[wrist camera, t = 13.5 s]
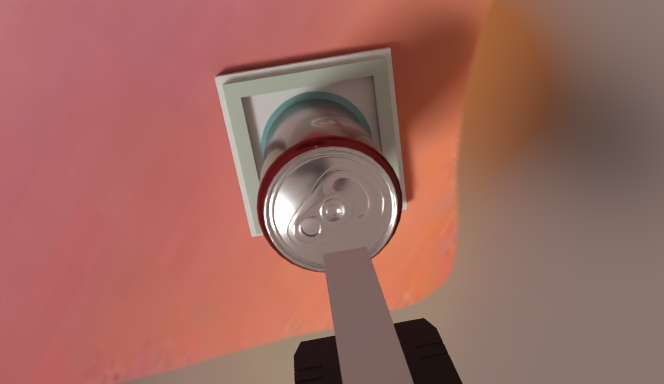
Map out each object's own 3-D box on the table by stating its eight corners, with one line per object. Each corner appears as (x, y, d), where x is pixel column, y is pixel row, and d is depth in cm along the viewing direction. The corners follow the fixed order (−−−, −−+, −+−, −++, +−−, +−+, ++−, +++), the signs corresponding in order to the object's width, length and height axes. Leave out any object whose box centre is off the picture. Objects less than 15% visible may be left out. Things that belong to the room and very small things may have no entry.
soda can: (332, 75, 33) (356, 108, 22) (385, 160, 35) (431, 229, 24) (244, 134, 34) (224, 194, 23) (302, 213, 36) (310, 303, 25)
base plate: (216, 75, 33) (212, 78, 32) (387, 47, 34) (392, 48, 32) (252, 231, 38) (251, 241, 36) (404, 204, 38) (409, 213, 36)
